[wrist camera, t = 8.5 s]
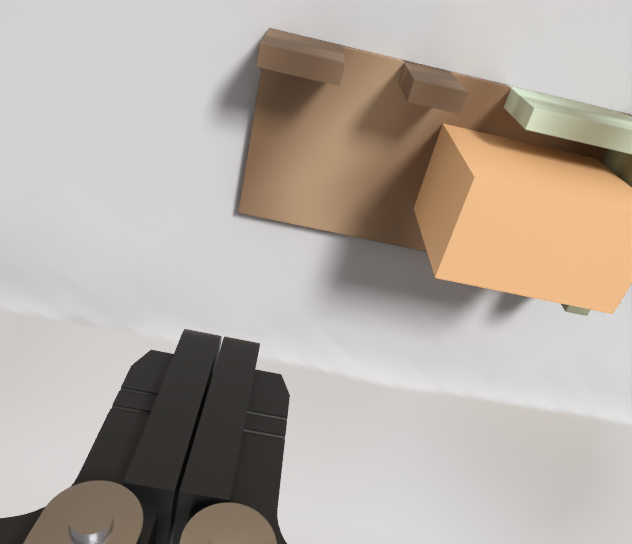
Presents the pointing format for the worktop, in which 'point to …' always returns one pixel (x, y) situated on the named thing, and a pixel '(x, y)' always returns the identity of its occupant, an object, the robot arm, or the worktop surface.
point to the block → (526, 220)
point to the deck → (388, 135)
